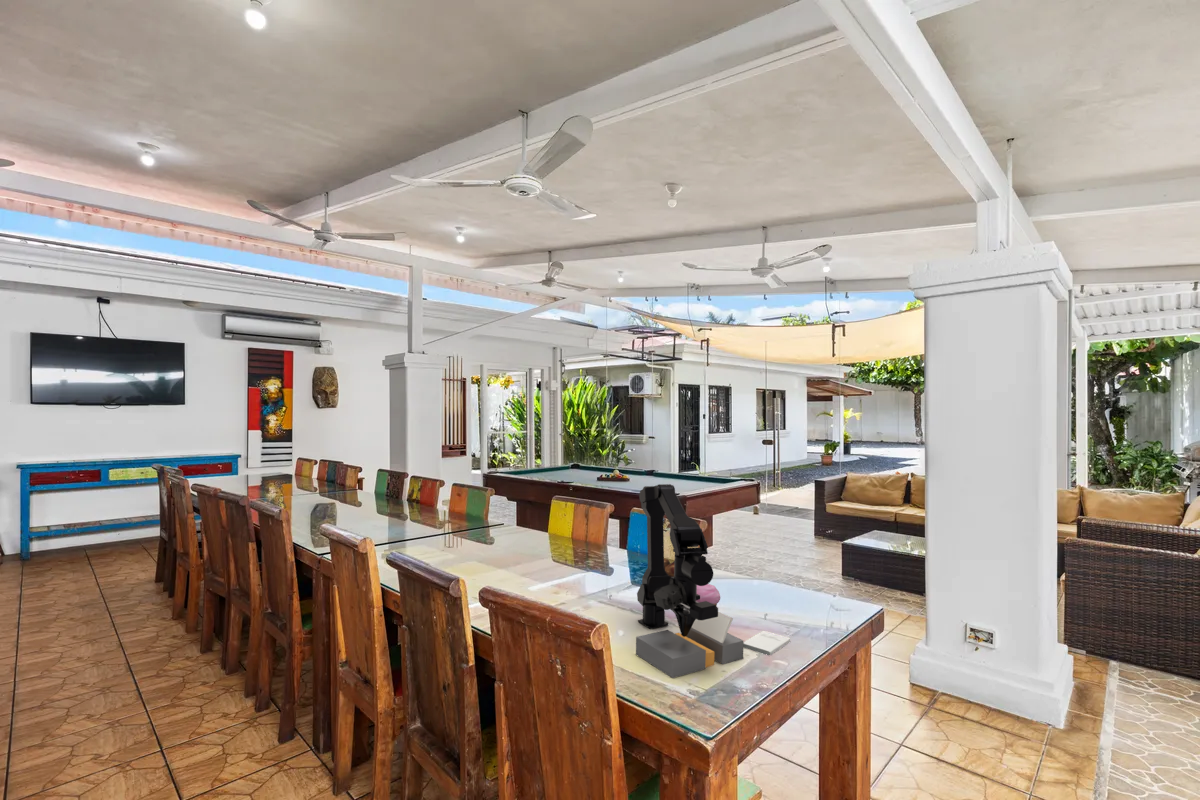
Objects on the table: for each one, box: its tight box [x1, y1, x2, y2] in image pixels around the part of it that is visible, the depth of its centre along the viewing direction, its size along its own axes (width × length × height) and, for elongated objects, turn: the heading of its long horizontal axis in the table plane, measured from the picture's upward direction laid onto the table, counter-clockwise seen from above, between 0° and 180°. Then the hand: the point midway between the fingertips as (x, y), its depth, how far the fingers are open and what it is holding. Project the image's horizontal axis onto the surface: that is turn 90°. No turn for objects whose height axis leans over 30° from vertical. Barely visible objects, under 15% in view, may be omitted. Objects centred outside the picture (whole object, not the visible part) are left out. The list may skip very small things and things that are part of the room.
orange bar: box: [674, 632, 715, 668], centre depth 156 cm, size 14×4×4 cm
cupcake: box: [696, 583, 721, 607], centre depth 183 cm, size 9×9×10 cm
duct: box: [635, 628, 745, 679], centre depth 155 cm, size 15×22×4 cm, turn 121°
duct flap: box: [691, 611, 733, 643], centre depth 158 cm, size 15×6×1 cm
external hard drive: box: [743, 630, 791, 656], centre depth 164 cm, size 2×8×12 cm
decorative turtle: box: [664, 558, 674, 578], centre depth 218 cm, size 10×15×8 cm, turn 72°
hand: (684, 636), depth 154 cm, fingers closed
